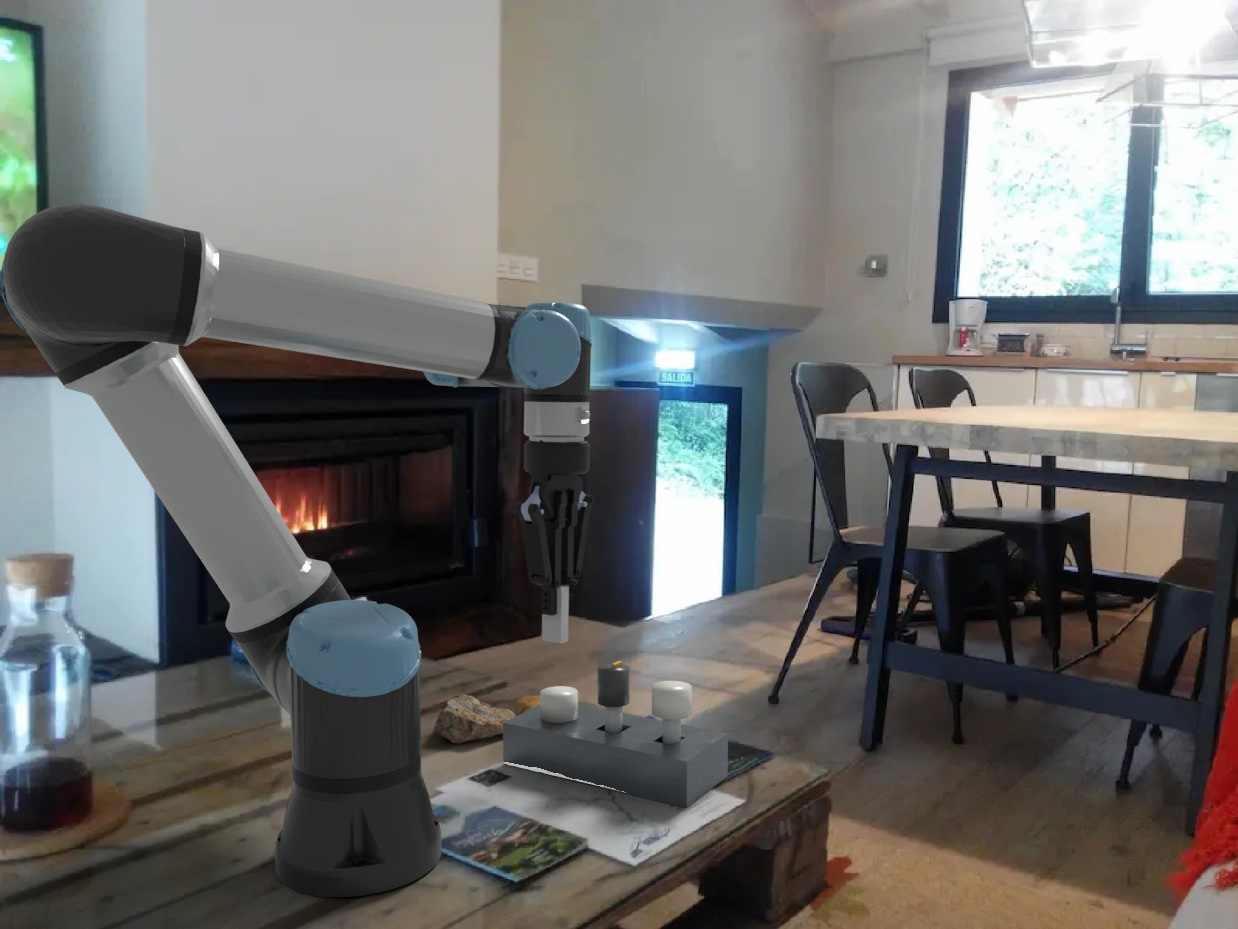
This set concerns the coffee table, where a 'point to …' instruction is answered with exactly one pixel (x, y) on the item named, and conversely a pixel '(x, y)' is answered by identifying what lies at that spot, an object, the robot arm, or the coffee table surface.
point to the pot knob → (613, 693)
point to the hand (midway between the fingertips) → (555, 640)
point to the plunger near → (671, 707)
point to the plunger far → (559, 704)
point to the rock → (470, 720)
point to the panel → (620, 754)
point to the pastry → (526, 704)
